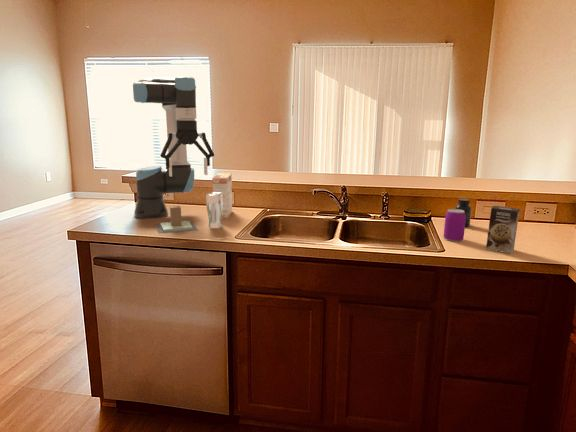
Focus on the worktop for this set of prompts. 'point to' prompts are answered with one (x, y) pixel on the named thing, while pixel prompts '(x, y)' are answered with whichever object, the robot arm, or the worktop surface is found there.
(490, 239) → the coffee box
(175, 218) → the lid
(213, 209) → the beer glass
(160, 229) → the mat
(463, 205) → the supplement bottle
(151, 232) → the worktop surface
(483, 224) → the worktop surface
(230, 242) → the worktop surface
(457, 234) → the beverage can
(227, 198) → the coffeecake box
